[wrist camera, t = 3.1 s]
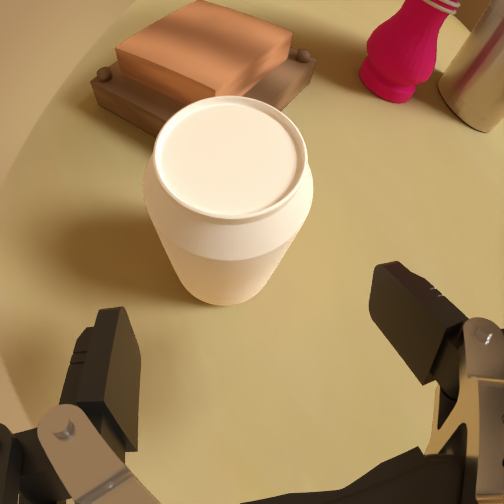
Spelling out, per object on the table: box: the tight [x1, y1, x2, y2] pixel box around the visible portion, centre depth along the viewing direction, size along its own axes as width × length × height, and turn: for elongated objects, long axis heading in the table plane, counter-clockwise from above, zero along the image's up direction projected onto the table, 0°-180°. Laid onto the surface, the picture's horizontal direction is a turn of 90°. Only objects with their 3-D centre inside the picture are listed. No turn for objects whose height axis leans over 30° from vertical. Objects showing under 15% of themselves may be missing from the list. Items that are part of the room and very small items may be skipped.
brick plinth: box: [90, 0, 317, 138], centre depth 23 cm, size 14×14×6 cm
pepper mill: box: [359, 0, 460, 103], centre depth 20 cm, size 7×7×20 cm
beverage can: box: [143, 96, 313, 306], centre depth 15 cm, size 6×6×12 cm
